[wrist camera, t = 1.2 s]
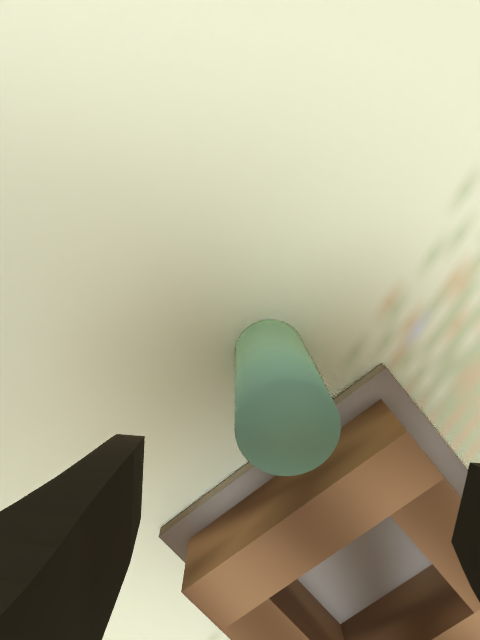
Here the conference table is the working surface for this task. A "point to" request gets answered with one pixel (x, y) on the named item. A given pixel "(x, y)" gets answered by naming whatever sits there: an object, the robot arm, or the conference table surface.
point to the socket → (337, 536)
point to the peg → (281, 402)
